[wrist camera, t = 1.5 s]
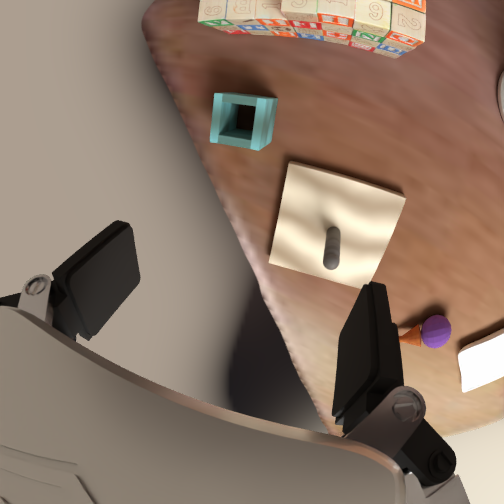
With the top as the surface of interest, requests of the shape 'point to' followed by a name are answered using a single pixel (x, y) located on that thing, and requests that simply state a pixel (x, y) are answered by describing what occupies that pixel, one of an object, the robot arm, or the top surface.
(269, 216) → the top surface
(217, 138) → the open box
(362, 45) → the stack of blocks
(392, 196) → the cream peg stand
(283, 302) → the top surface
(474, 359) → the salad plate
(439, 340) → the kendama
